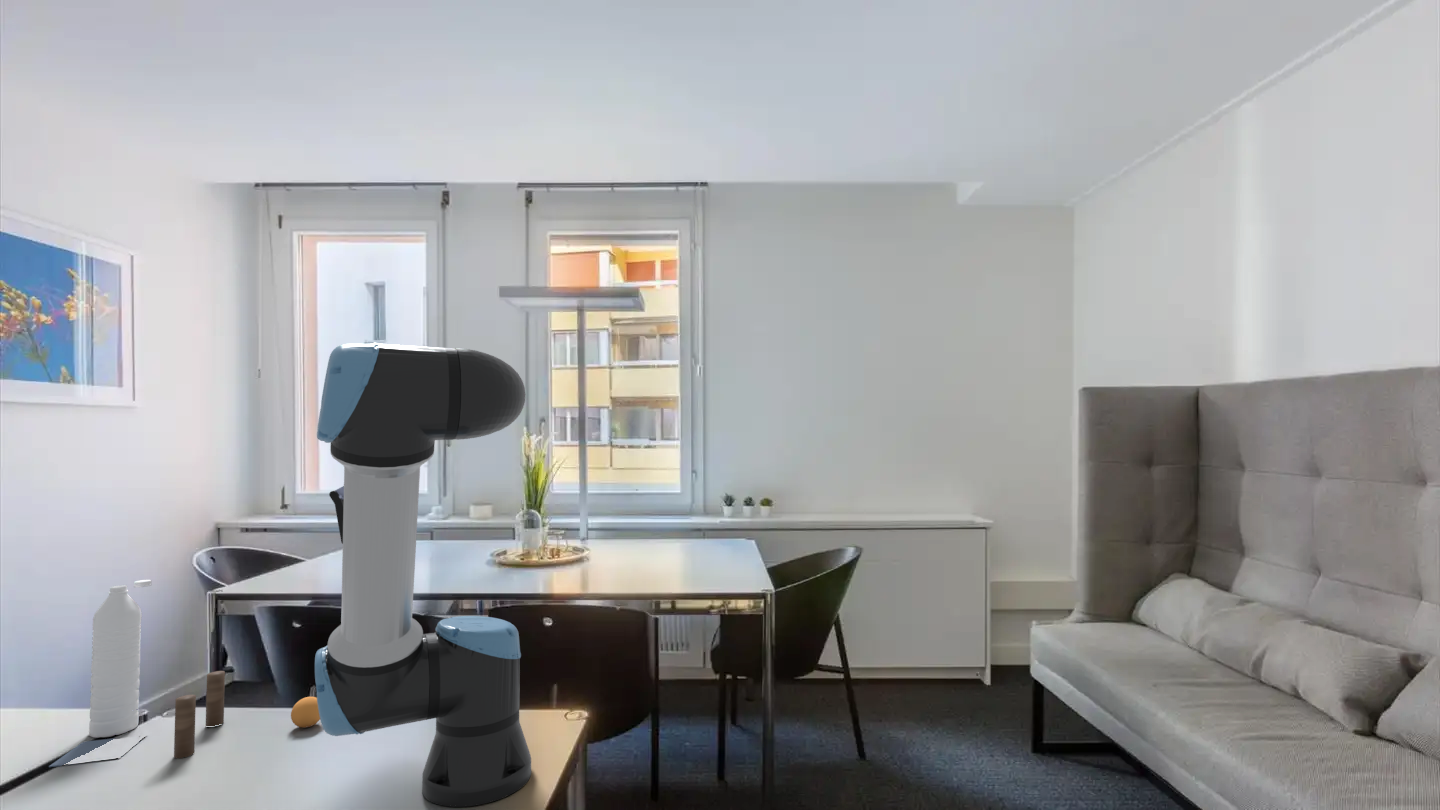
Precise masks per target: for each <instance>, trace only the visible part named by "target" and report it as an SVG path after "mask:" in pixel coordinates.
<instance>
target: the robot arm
mask: <svg viewBox="0 0 1440 810" xmlns="http://www.w3.org/2000/svg"><path fill="white" fill-rule="evenodd" d="M328 357H329V358H328V362H327V367H326V372H325V378H324V384H323V390H322V396H321V401H320V402H321V403H320V404H321V405H320V409H319V416H318V423H317V431H316V438H317V440H319V441H321V442H324V443H328V444H329V443H330V449H329V450H330V455H331V457H332V458H333V459H334V460H336V461H337V463H339V464H341V465H342V466H343V467H344V469H343V485H342V486H341V487H339V488H337V489H335V490H331V491H330V492H329V497H330V500H331V501H332V502H333V504H334V507H335V513H336V518H337V524H338V525H337V526H338V530H339V537H340V541H341V544H342V564H341V565H342V566H341V567H342V568H341V570H342V571H341V609H340V611H341V612H340V613H341V615H340V616H341V617H340V622H341V623H340V624H339V625H338V626H337V627H336V628H335V629H334V630H333V631H332V632H331V633H330V635H329V637H328V641H327V645H326V646H324V647H321V648H319V649H317V651H316V653H315V657H314V679H315V689H316V698H317V703H318V710H319V715H320V720H319V721H320V724H321V726H322V727H321V728H322V729H323V731H324V732H325V733H326V734H328V736H329V735H330V736H332V737H333V736H334V737H340V736H341V737H342V736H349V735H362V734H364V733H366V732H371V731H376V730H381V729H385V728H391V727H396V726H401V725H405V724H411V723H416V722H417V723H418V722H421V721H422V722H423V721H427V720H431V719H435V734H434V737H433V738H434V739H433V740H432V743H431V747H430V748H429V749H430V750H429V753H428V757H427V758H426V762H425V766H424V768H423V771H422V775H421V776H422V778H421V780H422V781H421V783H422V784H421V791H422V793H421V794H422V795H423V797H424V798H425V799H426V800H427V801H429V802H430V803H433V804H436V805H439V806H444V807H452V808H454V807H457V808H463V807H465V808H466V807H474V806H479V805H484V804H488V803H492V802H496V801H499V800H501V799H503V798H506V797H508V796H510V795H512V794H514V793H515V792H517V791H519V790H520V789H521V788H522V787H524V786H525V785H526V784H527V783H528V782H529V780H530V778H531V776H532V757H531V752H530V749H529V746H528V744H527V740H526V737H525V735H524V731H523V727H522V724H521V722H520V675H521V674H520V673H521V672H520V671H521V670H520V659H521V657H522V653H521V646H520V636H519V634H520V633H519V631H518V629H517V627H516V626H515V625H514V624H512V623H511V622H510V621H507V620H505V619H501V618H497V617H491V616H478V615H463V616H462V615H460V616H458V615H457V616H452V617H448V618H443V619H440V620H439V621H438V622H437V625H436V627H435V632H428V633H424V630H423V627H422V625H421V624H420V623H419V622H418V621H417V620H416V619H415V618H413V605H414V589H415V588H414V587H415V586H414V585H415V584H414V583H415V569H416V549H417V531H418V529H417V528H418V514H419V512H418V511H419V498H420V497H419V494H420V493H419V492H420V477H421V467H422V466H423V465H424V464H425V463H427V462H428V461H429V460H430V459H432V457H433V456H434V453H435V441H454V440H470V439H477V438H480V437H486V436H489V435H491V434H495V433H496V432H499V431H502V430H504V429H505V428H507V427H509V426H510V425H511V424H512V423H514V422H515V420H517V419H518V417H519V416H520V415H521V413H522V411H523V409H524V406H525V403H526V387H525V384H524V381H523V379H522V378H521V376H520V373H518V372H517V371H516V370H515V368H513V367H512V366H511V365H510V364H509V363H507V362H505V361H504V360H503V359H500V358H498V357H497V356H494V355H491V354H488V353H486V352H482V351H479V350H475V349H470V348H462V347H460V348H459V347H455V348H450V347H432V346H418V345H404V344H402V345H400V344H387V343H379V342H373V343H344V344H340V345H337V346H336V347H335V348H334V349H333V350H332V351H331V352H330V355H329V356H328Z"/></svg>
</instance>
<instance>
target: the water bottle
mask: <svg viewBox="0 0 1440 810" xmlns="http://www.w3.org/2000/svg"><path fill="white" fill-rule="evenodd" d="M150 586H152V579H141V580H140V579H139V580H135V581H134V582H133V588H145V587H150ZM128 592H129V589H128V586H127V584H126V585H124V584H123V585H115V586H114V585H113V586H110V587H109V591H108V592H107V594H108V596H107V598H106V599H105V600H104V601H103V602H102V604H100V606H99V607H98V608H97V610H96V611H95V612H94V614H93V618H92V641H91V642H92V647H91V651H92V652H91V666H90V667H91V668H90V673H91V675H90V686H91V687H90V693H91V694H90V700H89V705H90V709H89V726H88V729H89V730H88V735H89V737H91V738H94V739H98V738H109V737H113V736H115V735H116V736H118V735H121V734H126V733H127V732H128V731H133V730H134V729H136V728H137V726H138V725H139V717H140V713H139V709H140V707H139V706H140V700H139V697H140V690H139V688H140V683H141V681H140V673H141V668H140V665H141V641H142V640H141V635H142V634H141V633H142V631H141V628H142V625H141V624H142V617H143V616H142V615H143V613H142V609H141V607H140V605H139V604H138V603H137V602H136V601H135V600H134V599H133V597H131V596H130V595H129V593H128ZM136 709H138V710H136ZM132 710H134V711H132Z"/></svg>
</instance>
